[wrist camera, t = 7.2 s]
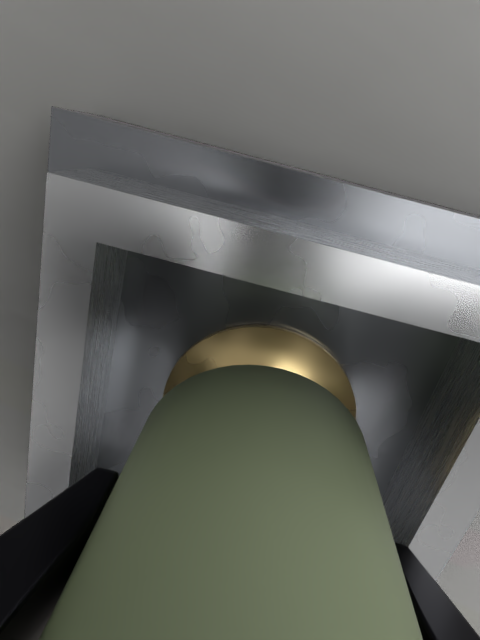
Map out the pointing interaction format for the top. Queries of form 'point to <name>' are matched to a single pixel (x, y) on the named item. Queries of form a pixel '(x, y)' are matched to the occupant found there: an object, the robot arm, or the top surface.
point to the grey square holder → (254, 311)
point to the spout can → (241, 524)
